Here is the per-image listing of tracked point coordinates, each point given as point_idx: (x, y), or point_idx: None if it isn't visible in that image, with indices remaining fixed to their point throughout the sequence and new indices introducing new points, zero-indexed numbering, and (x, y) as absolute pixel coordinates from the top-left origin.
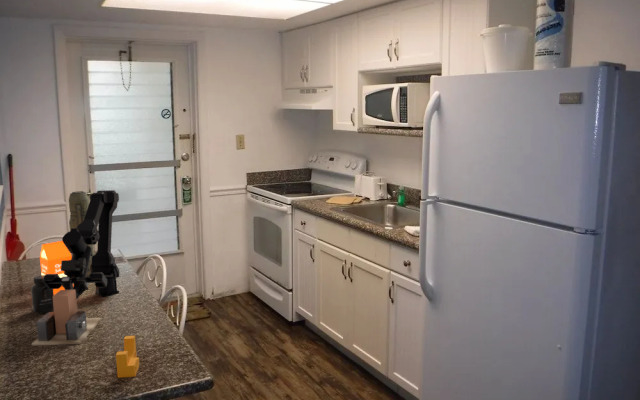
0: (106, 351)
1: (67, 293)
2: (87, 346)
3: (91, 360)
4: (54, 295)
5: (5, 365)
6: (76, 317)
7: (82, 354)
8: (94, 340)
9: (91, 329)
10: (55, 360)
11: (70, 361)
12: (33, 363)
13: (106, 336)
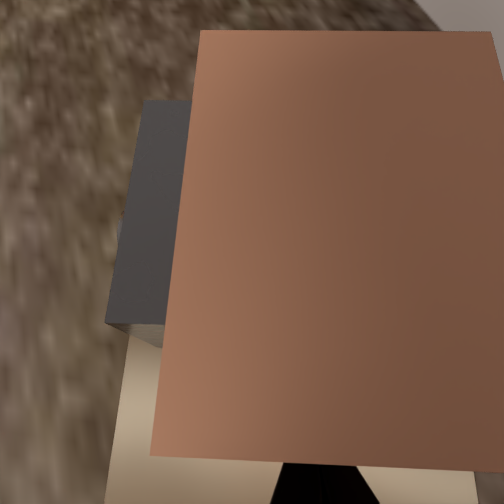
0: (14, 80)
1: (256, 152)
2: (113, 136)
3: (70, 15)
4: (483, 71)
5: (418, 4)
6: (153, 165)
7: (119, 63)
8: (89, 202)
9: (128, 347)
10: (222, 25)
11: (155, 14)
12: (306, 10)
13: (26, 249)
